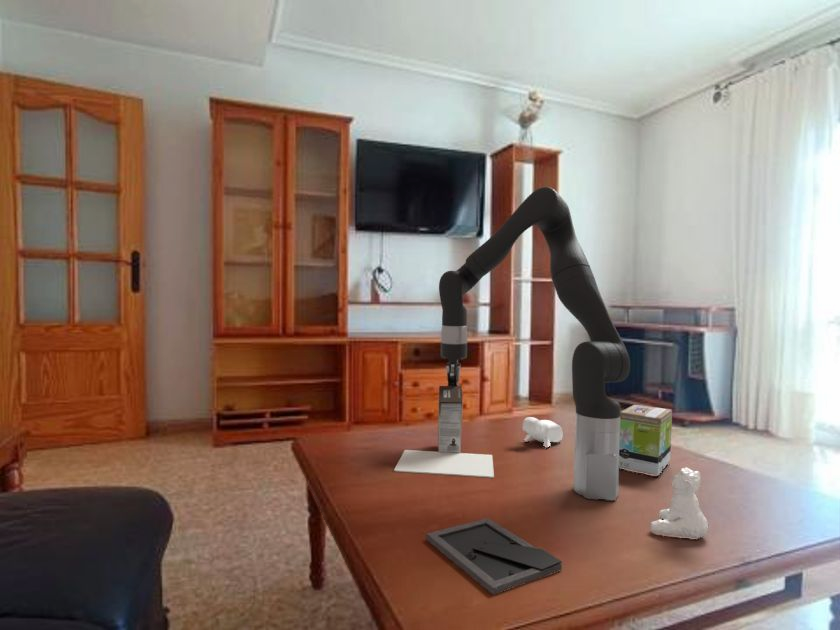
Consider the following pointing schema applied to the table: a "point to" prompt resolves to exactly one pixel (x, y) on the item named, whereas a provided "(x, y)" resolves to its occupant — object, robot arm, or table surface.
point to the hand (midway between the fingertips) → (452, 400)
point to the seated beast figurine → (683, 509)
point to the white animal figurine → (542, 431)
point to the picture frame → (493, 554)
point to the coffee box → (450, 419)
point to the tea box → (645, 439)
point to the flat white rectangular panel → (446, 463)
